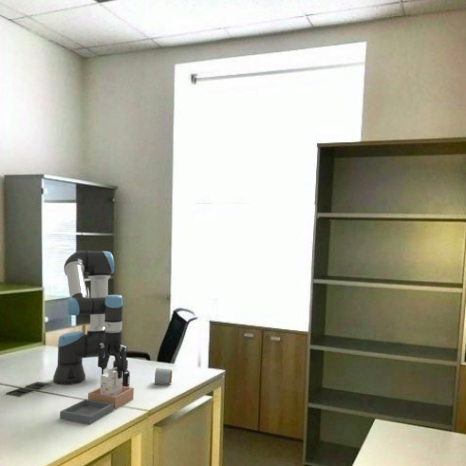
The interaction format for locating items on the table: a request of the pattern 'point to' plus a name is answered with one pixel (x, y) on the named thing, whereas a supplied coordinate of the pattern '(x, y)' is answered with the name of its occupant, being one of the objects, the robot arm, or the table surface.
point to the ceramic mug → (163, 376)
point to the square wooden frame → (113, 397)
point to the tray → (86, 411)
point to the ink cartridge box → (110, 383)
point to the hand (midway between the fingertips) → (111, 384)
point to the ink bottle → (124, 374)
